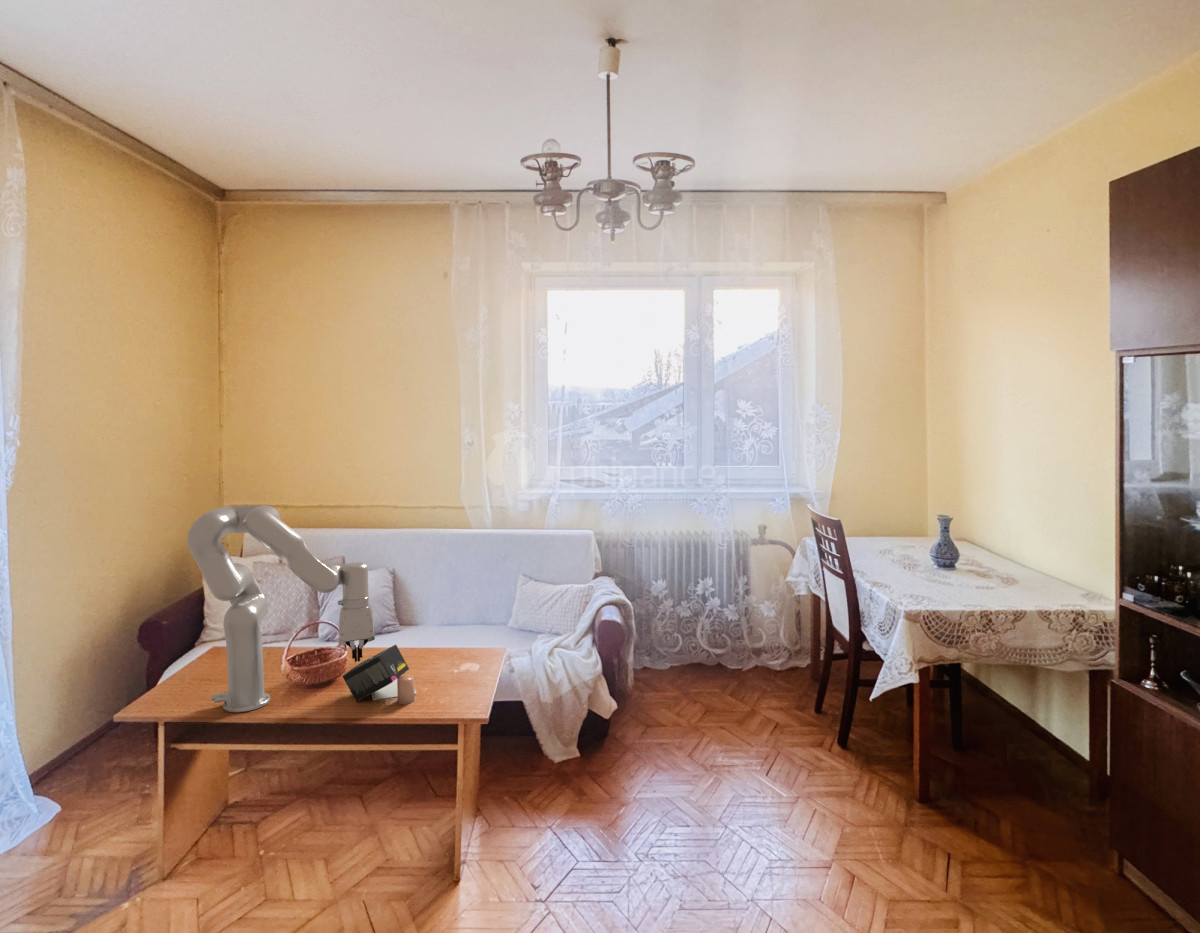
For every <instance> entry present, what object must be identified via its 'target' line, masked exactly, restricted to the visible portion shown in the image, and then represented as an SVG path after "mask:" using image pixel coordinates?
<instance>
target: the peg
mask: <svg viewBox="0 0 1200 933" xmlns="http://www.w3.org/2000/svg"><path fill="white" fill-rule="evenodd" d="M414 687H415V676H414V675H408V674H407V675H401V676H400V677H399V678H398V679H397V695H398V697H397V703H398V704H400V705H410V704H412V703H414V702H415V695H416V694H415V691H414Z"/></svg>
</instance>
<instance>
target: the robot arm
mask: <svg viewBox="0 0 1200 933" xmlns="http://www.w3.org/2000/svg"><path fill="white" fill-rule="evenodd" d="M242 533H243V534H245V533H248V534H249V535H250V536H251V537H253V538H254V539H255V540H256V541H258V542H259V543H261V544H262V545H263V546H265V548H267V549H269V550H270V551H271V552H272V553H274V554H275V555H276V556H277V557H279V558H280V559H281V560H282V562H283V563H284V565H286V566H287V567H288V569H289V570H290V571H292V573H293V574H294V575H295V576H297V578H299V579H300V580H301V581H302V582H303V583H305V584H306V585H307V586H309V587H310V588H312V589H313V590H314V591H316V592H318V593H322V594H329V593H332V592H335V590H336V589H337V588H338V587H339V586H340V585H341V586H342V599H340V600H338V601H337V606H341V608H340V610H339V619H338V637H339V638H338V642H337V643H338V644H339V645H345V646H347V647H349V648H350V649H351V659H352V660H353V659H354V663H357V662H359V663H360V662H361V658H363V648H364V646H365V645H366V644H367V643H370V642H372V641H375V639H376V637H375V626H374V625H375V623H374V614H373V608H372V606H371V604H369V567H368V565H367V564H366V563H365V562H361V561H360V562H349V563H343V562H342V563H341V562H331V561H330V562H326V563H323V562H321V561H320V560H319V559H318V558H317V557H316V556H314V555H313V553H312V552H311V551H310V549H309V548H308V546H307V544H306V543H307V542H305V539H304V538H303V536H302V535H300V533H298V532H297V531H296V530H294V529H293V528H291V527H290V526H289V525H288V524H286V523H285V522H284V521H283V520H281V515H280V512H279V511H278V510H277V509H276V508H275V507H273V506H271V505H267V504H266V505H265V504H264V505H263V504H261V505H259V504H258V505H226V506H221V507H217V508H214V509H211V510H209V511H207V512H204V513H203V514H202V515H201V516H199V517H198V518H197V519H195V521H194V522H193V523H192V525H191V526H190V528H189V530H188V533H187V536H186V537H187V539H186V540H187V541H186V542H187V546H188V549H189V551H190V554H191V556H192V558H193V560H194V561H195V563H196V565H197V566H198V567H197V568H198V569H199V571H200V573H201V575H202V577H203V579H204V580H205V582H206V585H207V587H208V588H209V591H210V592H211V594H212V596H214V598H216V600H219V601H222V602H227V601H228V602H229V603H230V604H231V605H230V607H229V608H228V609H227V611H226V612H225V614H224V617H223V621H222V622H223V632H224V635H225V646H226V661H227V663H226V664H227V686H228V687H227V691H224V692H222V693H213V694H211V701H212V702H213V701H214V703H215V704H216V703H221V702H223V704H222V709H223V710H224V711H226V712H230V713H243V712H244V713H245V712H250V711H254V710H256V709H259V708H262V707H264V706H266V705H267V704H269V702H270V701H271V695H270V694H269V693H267V692H265V679H264V676H265V675H264V648H263V637H262V631H261V630H262V629H261V622H262V621H263V620H264V618H266V616H267V614H268V612H269V604H268V601H267V598H266V596H265V594H264V592H263V591H262V588H261V587H260V585H259V582H258V581H257V579H256V577H255V575H254V573H253V572H252V570H251V569H250V568H249V567H248V566H246V565H245V564H243V563H239V562H234V561H233V559H232V557H231V555H230V552H229V551H228V550H227V549H226V547H225V546H224V544H223V543H222V539H223V538H224V537H226V536H228V535H230V534H242ZM355 641H358V644H357V645H356V644H355Z"/></svg>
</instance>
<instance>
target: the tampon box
mask: <svg viewBox="0 0 1200 933" xmlns="http://www.w3.org/2000/svg"><path fill="white" fill-rule="evenodd" d="M409 670H410V668H409V666H408V664H407V662H406V660H405V658H404V656H403V655H402V652H401V651H400V650H399V647H398V646H397V644H393V645H391V646H390V647H388V648H386V649H384V650H382V651H380V652H379V653H377V654H375V655H373V656H371V657H369V658H367V659H366V660H363V661H360V662H359V664H357V665H355V666H354V667H353V668H351V669H350V670H349V671H347V672H346V673H344V674H343V675H342V679H343V680H344V682H345V684H346V686H347V688H348V689H349V691H350V693H351V695H352V698H354V701H355V702H359V701H361V700H362V699H364V698H366V697H368V696H370V695H372V693H374V692H376V691H378V690H379V689H381V688H383V687H385V686H387V685H389V684H390V683H392V682H393V681H395V680H396V679H397V678H399V677H401V676H403V675H404V674H405V673H406V672H407V671H409Z"/></svg>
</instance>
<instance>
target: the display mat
mask: <svg viewBox="0 0 1200 933" xmlns="http://www.w3.org/2000/svg"><path fill="white" fill-rule="evenodd" d="M397 679H398V678H397ZM397 679H396V680H395V681H393V682H392V683H390V684H389V685H387V686H385V687H383V688H381V689H379V690H378V691H376V692H374V693H372V694H371V697H372V701H378V700H387V699H392V698H398V695H397ZM414 691H415V695H417V691H416V687H415V686H414Z"/></svg>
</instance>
